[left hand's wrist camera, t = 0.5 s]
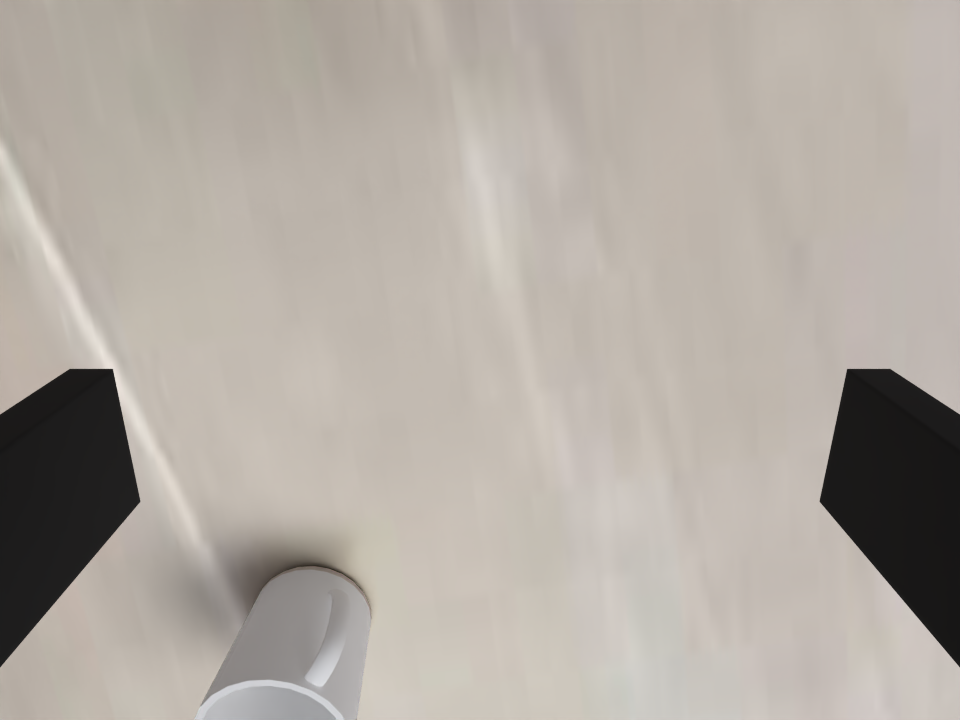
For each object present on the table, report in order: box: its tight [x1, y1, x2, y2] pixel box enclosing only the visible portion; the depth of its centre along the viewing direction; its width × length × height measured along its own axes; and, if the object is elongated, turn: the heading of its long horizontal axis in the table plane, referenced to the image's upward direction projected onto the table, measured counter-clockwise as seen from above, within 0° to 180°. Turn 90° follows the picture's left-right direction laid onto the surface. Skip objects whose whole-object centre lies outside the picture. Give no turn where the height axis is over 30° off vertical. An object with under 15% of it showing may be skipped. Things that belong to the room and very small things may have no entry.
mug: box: [194, 566, 372, 720], centre depth 42 cm, size 11×9×10 cm
